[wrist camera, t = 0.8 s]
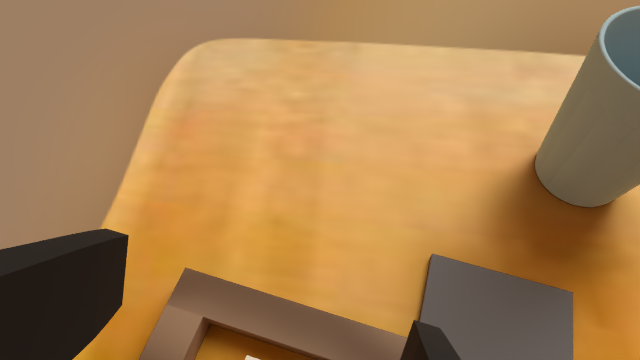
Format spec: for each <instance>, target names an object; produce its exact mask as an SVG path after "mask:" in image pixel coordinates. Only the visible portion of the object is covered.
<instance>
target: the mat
mask: <svg viewBox="0 0 640 360" xmlns="http://www.w3.org/2000/svg"><path fill="white" fill-rule="evenodd" d="M419 322H422V323H426V324H429V325H432V326H436V327H439V328H441V330H442V331H443V333H444V334H445V336H446V337H447V339H448V340H449V342H450V343H451V345H452V346H453V348H454V349H455V351H456V352H457V354H458V356H459V357H460V359H461V360H573V292H570V291H566V290H562V289H559V288H555V287H552V286H548V285H544V284H541V283H537V282H533V281H530V280H526V279H523V278H519V277H515V276H512V275H508V274H504V273H501V272H497V271H494V270H490V269H486V268H483V267H479V266H476V265H472V264H468V263H465V262H461V261H457V260H454V259H450V258H447V257H443V256H439V255H436V254H432V255H431V258H430V263H429V269H428V274H427V279H426V285H425V290H424V296H423V301H422V307H421V312H420V318H419Z"/></svg>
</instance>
